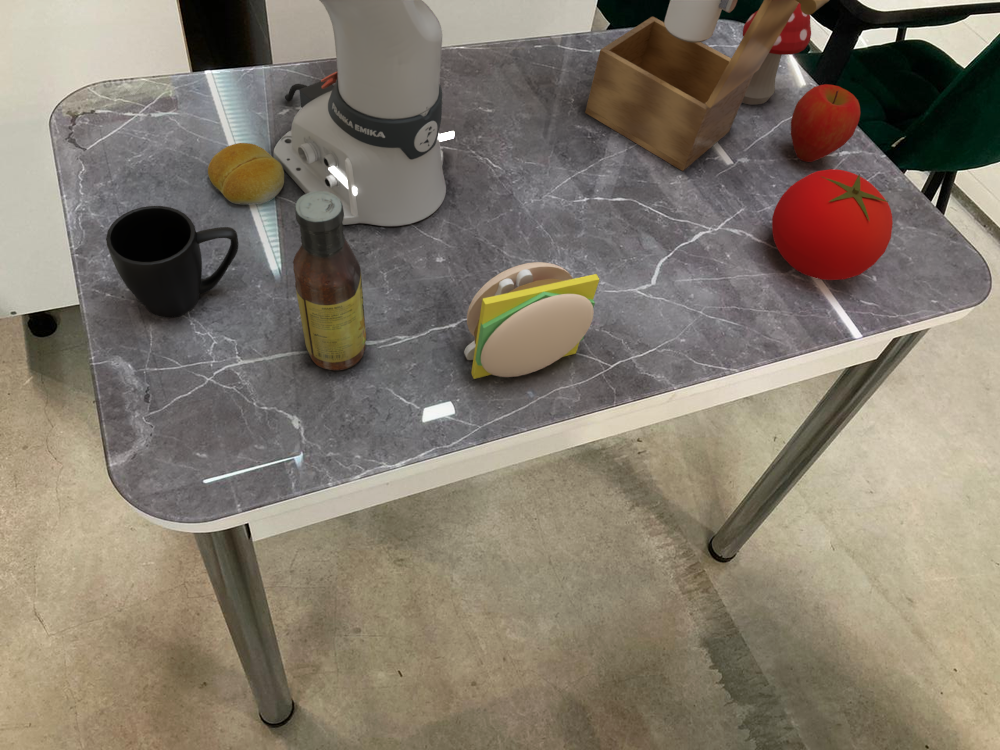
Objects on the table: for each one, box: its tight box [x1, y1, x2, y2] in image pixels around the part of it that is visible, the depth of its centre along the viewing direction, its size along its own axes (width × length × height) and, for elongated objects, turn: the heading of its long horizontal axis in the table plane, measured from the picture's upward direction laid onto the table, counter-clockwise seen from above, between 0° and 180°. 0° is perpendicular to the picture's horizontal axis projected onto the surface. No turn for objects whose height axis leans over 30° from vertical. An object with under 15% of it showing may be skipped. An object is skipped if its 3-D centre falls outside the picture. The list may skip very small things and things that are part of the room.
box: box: [584, 16, 753, 172], centre depth 110 cm, size 17×13×10 cm
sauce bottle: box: [292, 191, 367, 372], centre depth 76 cm, size 7×6×20 cm
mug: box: [105, 205, 239, 319], centre depth 82 cm, size 8×12×10 cm
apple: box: [790, 83, 861, 163], centre depth 109 cm, size 9×8×11 cm
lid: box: [706, 0, 830, 108], centre depth 95 cm, size 18×13×5 cm
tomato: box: [771, 168, 894, 281], centre depth 96 cm, size 13×14×12 cm
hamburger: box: [463, 261, 600, 380], centre depth 82 cm, size 12×8×12 cm
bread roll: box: [207, 142, 285, 205], centre depth 95 cm, size 8×9×4 cm
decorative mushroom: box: [741, 3, 812, 105], centre depth 115 cm, size 10×9×15 cm
